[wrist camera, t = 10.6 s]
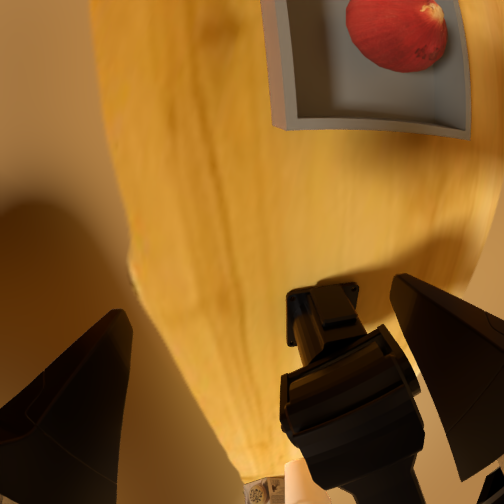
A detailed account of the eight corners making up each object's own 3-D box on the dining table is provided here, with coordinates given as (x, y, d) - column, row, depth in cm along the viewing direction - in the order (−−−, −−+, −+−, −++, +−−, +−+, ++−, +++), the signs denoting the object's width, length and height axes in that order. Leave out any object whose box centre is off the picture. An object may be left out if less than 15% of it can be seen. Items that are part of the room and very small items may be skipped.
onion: (411, 32, 13) (489, 18, 6) (388, 90, 15) (470, 95, 8) (343, -12, 11) (404, -57, 4) (314, 47, 14) (375, 14, 7)
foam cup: (301, 453, 44) (312, 509, 33) (329, 456, 47) (341, 505, 36) (268, 467, 47) (275, 518, 36) (297, 470, 50) (306, 515, 39)
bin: (432, 130, 18) (470, 140, 14) (272, 125, 17) (286, 130, 13) (417, -13, 11) (450, -25, 7) (255, -41, 11) (263, -73, 7)
